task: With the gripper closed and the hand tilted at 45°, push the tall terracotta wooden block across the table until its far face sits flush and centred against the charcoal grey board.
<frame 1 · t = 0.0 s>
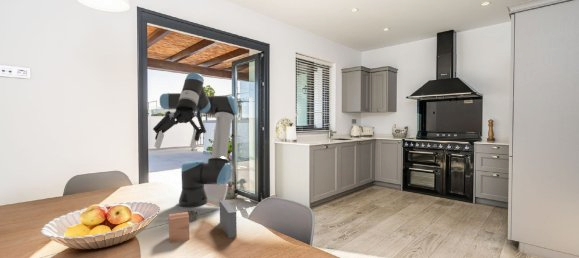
hand: (174, 147, 102), 36 cm above the table, tool tilted 35°, fingers open, 13 cm apart
terracotta block: (179, 238, 107), on the table
grey board: (227, 229, 115), on the table
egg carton: (186, 221, 126), on the table
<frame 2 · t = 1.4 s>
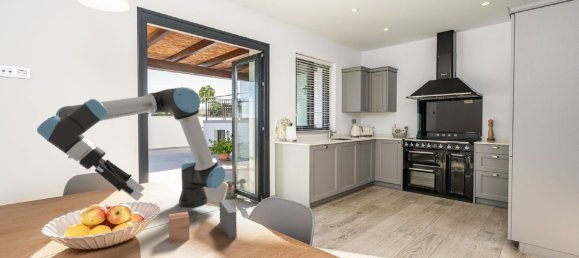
hand: (141, 194, 101), 19 cm above the table, tool tilted 45°, fingers open, 9 cm apart
nothing on the table moved.
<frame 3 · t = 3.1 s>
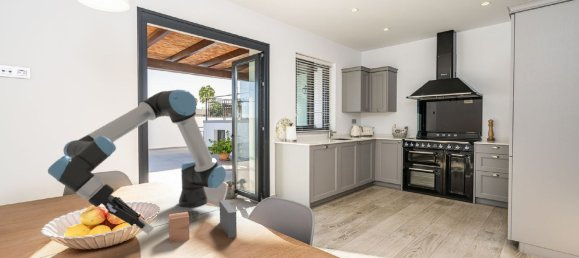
hand: (150, 230, 102), 5 cm above the table, tool tilted 45°, fingers closed
nothing on the table moved.
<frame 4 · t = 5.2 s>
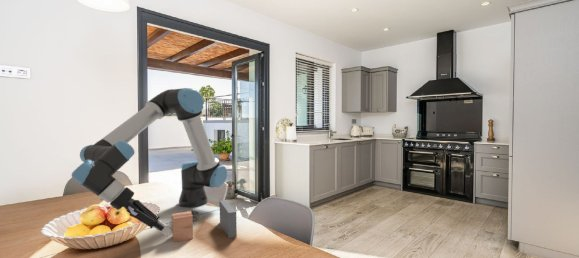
hand: (169, 232, 104), 3 cm above the table, tool tilted 45°, fingers closed
terracotta block: (182, 237, 107), on the table, touching gripper
everything else where it was.
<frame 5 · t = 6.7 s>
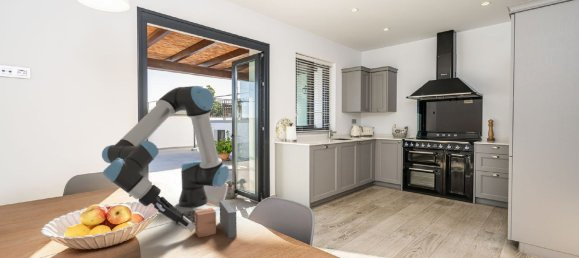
hand: (193, 228, 108), 3 cm above the table, tool tilted 45°, fingers closed
terracotta block: (205, 232, 111), on the table, touching gripper
everything else where it was.
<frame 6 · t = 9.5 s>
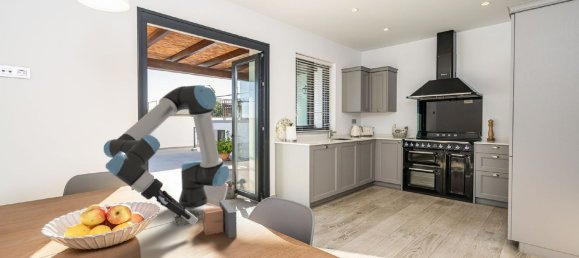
hand: (195, 222, 109), 5 cm above the table, tool tilted 45°, fingers closed
terracotta block: (213, 231, 113), on the table
everything else where it was.
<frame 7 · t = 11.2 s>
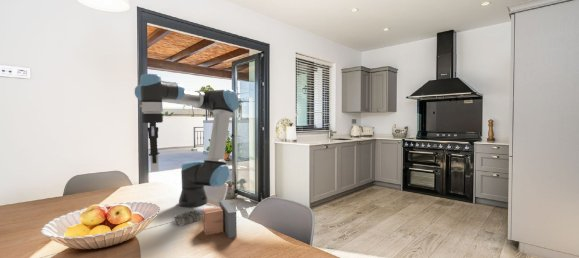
hand: (154, 170, 111), 26 cm above the table, tool pointing down, fingers closed
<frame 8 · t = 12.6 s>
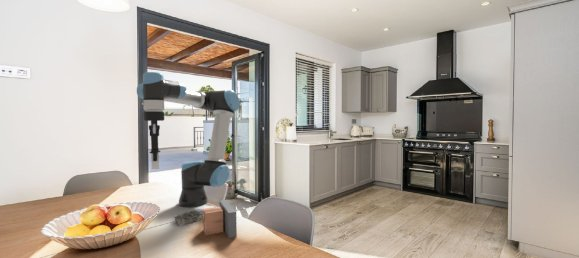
hand: (155, 168, 111), 26 cm above the table, tool pointing down, fingers closed
at the end: terracotta block 1.0 cm from the target spot on the table beside the grey board, on the table; terracotta block tilted 0° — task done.
